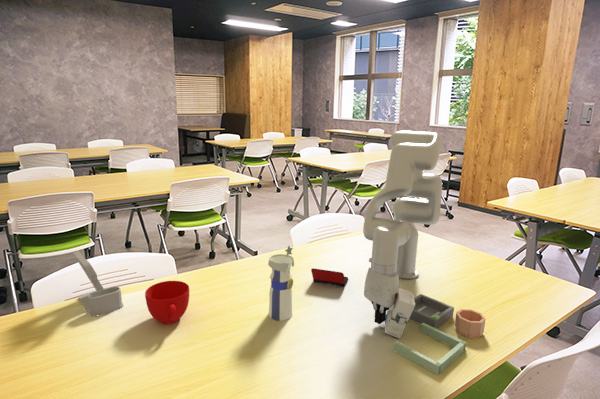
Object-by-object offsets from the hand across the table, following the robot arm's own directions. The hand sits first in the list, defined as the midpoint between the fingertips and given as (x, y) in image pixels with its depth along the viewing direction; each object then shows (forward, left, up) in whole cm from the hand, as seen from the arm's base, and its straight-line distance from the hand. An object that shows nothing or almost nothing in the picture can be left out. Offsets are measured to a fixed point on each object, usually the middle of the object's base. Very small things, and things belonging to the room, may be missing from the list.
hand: (379, 321), depth 119 cm
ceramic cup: (-44, -48, -2) cm, 65 cm away
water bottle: (-25, -19, -2) cm, 31 cm away
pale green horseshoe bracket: (+17, 0, -1) cm, 17 cm away
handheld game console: (-31, +10, -2) cm, 32 cm away
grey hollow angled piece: (-71, -60, -2) cm, 93 cm away
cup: (+20, +18, -1) cm, 27 cm away
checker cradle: (+7, +16, -1) cm, 18 cm away
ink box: (+4, +1, -1) cm, 4 cm away
